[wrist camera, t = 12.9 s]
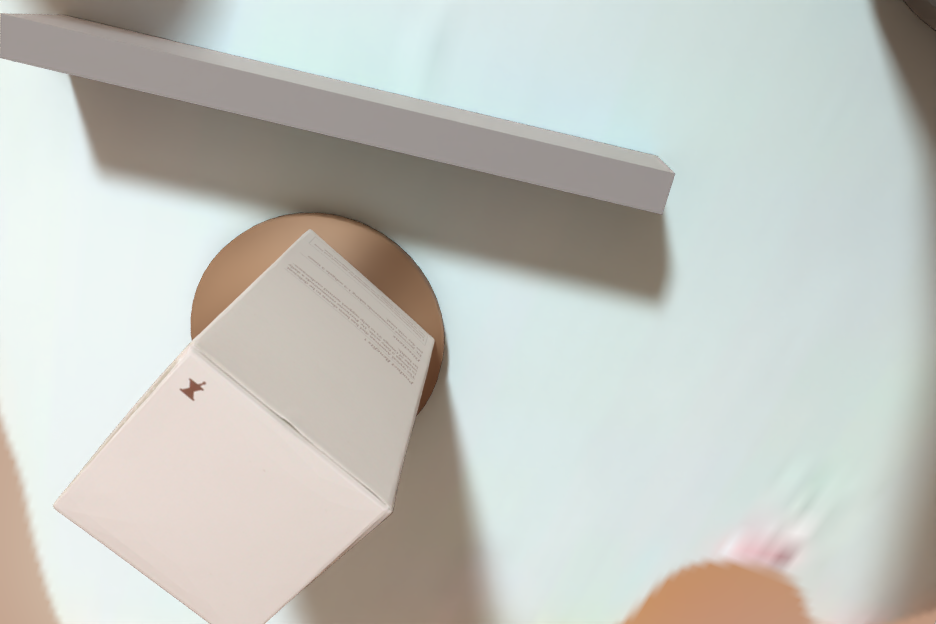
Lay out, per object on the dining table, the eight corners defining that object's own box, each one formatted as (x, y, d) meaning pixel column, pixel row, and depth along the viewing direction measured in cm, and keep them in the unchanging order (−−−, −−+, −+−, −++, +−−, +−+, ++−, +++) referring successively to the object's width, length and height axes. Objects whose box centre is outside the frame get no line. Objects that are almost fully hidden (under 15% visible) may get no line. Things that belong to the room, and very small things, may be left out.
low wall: (657, 155, 31) (675, 173, 28) (646, 192, 32) (662, 214, 28) (63, 15, 31) (0, 13, 27) (61, 53, 32) (-1, 58, 28)
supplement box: (204, 340, 35) (37, 504, 23) (312, 223, 33) (190, 335, 21) (331, 448, 36) (236, 655, 24) (443, 342, 34) (398, 512, 22)
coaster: (492, 303, 34) (491, 309, 33) (365, 485, 38) (361, 495, 37) (268, 161, 33) (262, 164, 32) (157, 365, 36) (149, 372, 35)
